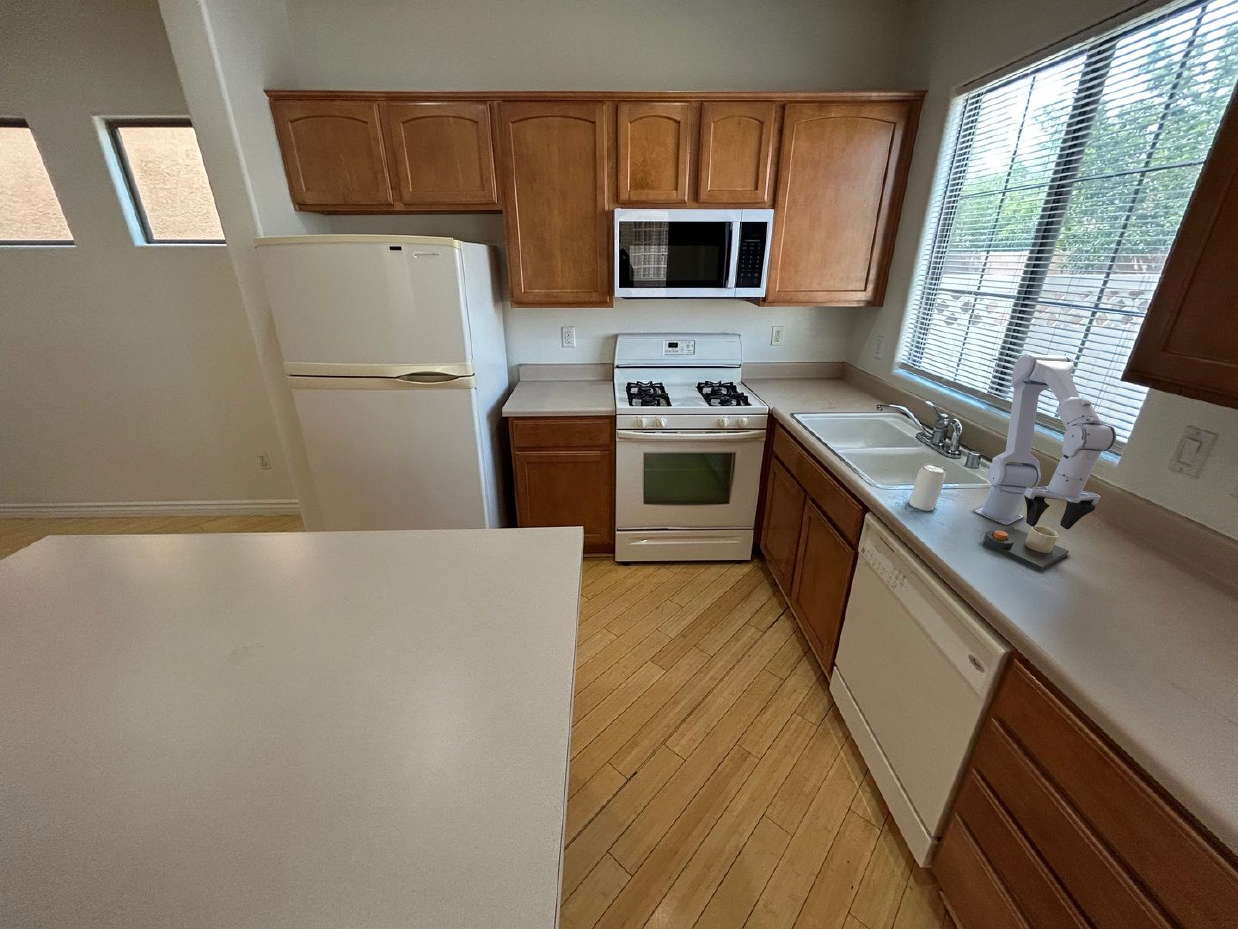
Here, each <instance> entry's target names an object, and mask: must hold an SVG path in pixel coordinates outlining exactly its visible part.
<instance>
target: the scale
mask: <svg viewBox="0 0 1238 929" xmlns="http://www.w3.org/2000/svg"><path fill="white" fill-rule="evenodd" d="M995 531H996V530H989V531H986V532H985V534H984V537H983V539H984V541H983V543H982V546H984V547H986V548H988V549H991V550H993V551H995V552H997V553H999V554H1001V555H1003V556H1006V557H1008V558H1010V559H1012V560H1014V561H1016V562H1018V563H1020V564H1023V565H1024V566H1027V567H1029V568H1032V569H1033V570H1036V571H1038V572H1041V571H1043V570H1045V569H1046V568H1049V566H1051V565H1054V564H1056V562H1059V561H1060V560H1061V559H1063V558H1065V557H1067V556H1068V554H1069V550H1068V549H1065V548H1063V547H1061V546H1059V545H1056V544H1055V545H1054V547H1053V549H1052V551H1051V552H1050V553H1043V552H1038V551H1035V550H1033V549H1031V548H1029V547H1027V546H1026V545H1025V544H1024V542H1025V539H1026V537H1027V535H1028V533H1029V532H1026V531H1022V530H1020V529H1018V528H1016V527H1013V526H1012V527H1010V528H1008V529H1006V530H1003V531H1004V532H1006V533H1007V534H1008V537H1007V539H1006V541H1003V540H999V539H996V538H994V537H993V535H994V532H995Z"/></svg>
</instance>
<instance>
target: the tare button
mask: <svg viewBox="0 0 1238 929" xmlns="http://www.w3.org/2000/svg"><path fill="white" fill-rule="evenodd" d="M994 531H995V532H994V535H993V537H994V538H996V539H999V540H1003V541H1006V539H1007V537H1008V534H1007V533H1006V532H1004V531H1005V530H1000V529H996V530H994Z"/></svg>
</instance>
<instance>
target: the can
mask: <svg viewBox="0 0 1238 929" xmlns="http://www.w3.org/2000/svg"><path fill="white" fill-rule="evenodd" d="M946 472H947V470H946V469H945V468H944V467H943V466H940V465H937V464H932V463H924V464H922V466H921V467H920V468H919V470H918V473H917V475H916V478H915V482H914V484H913V488H912V490H911V494H910V497H909V500H908V503H909V505H910V506H911V507H912V508H914V509H916V510H920V511H925V512H931V511H933V510H935V509H936V506H937V503H938V500H939V497H940V496H941V491H942V489H943V486H944V483H945V480H946V477H947V475H946V474H947V473H946Z"/></svg>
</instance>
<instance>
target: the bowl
mask: <svg viewBox="0 0 1238 929" xmlns="http://www.w3.org/2000/svg"><path fill="white" fill-rule="evenodd" d="M1027 533H1028V535H1027V537H1026V539H1025V542H1024V544H1025V545H1026V546H1027V547H1029V548H1031V549H1033V550H1035V551H1038V552H1043V553H1050V552H1051V551H1052V549H1053V547H1054V545H1056V543H1057V541H1058V539H1059V537H1060V534H1059V533H1058V531H1056V530H1054V529H1052V528H1050V527H1048V526H1047V527H1046V526H1043V525H1037V524H1036V525H1035V526H1034V527H1032V526H1030V528H1029V531H1028V532H1027Z"/></svg>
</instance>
